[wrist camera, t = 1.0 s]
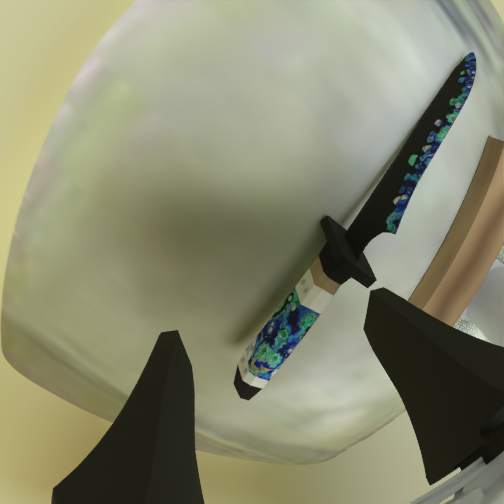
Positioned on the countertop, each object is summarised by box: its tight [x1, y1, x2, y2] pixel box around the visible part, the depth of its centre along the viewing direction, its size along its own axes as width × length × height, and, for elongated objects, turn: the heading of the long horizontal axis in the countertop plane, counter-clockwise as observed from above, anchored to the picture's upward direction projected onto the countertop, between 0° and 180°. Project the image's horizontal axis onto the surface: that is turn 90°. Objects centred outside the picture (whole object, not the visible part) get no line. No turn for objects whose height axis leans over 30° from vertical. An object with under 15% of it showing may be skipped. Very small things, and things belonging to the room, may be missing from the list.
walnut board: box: [408, 137, 504, 327], centre depth 20 cm, size 7×20×2 cm, turn 159°
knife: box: [234, 53, 476, 400], centre depth 16 cm, size 31×3×4 cm, turn 140°
